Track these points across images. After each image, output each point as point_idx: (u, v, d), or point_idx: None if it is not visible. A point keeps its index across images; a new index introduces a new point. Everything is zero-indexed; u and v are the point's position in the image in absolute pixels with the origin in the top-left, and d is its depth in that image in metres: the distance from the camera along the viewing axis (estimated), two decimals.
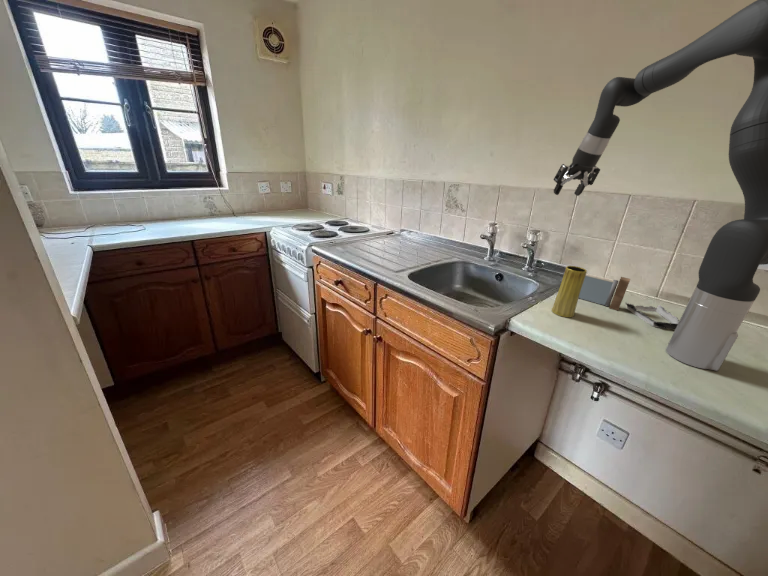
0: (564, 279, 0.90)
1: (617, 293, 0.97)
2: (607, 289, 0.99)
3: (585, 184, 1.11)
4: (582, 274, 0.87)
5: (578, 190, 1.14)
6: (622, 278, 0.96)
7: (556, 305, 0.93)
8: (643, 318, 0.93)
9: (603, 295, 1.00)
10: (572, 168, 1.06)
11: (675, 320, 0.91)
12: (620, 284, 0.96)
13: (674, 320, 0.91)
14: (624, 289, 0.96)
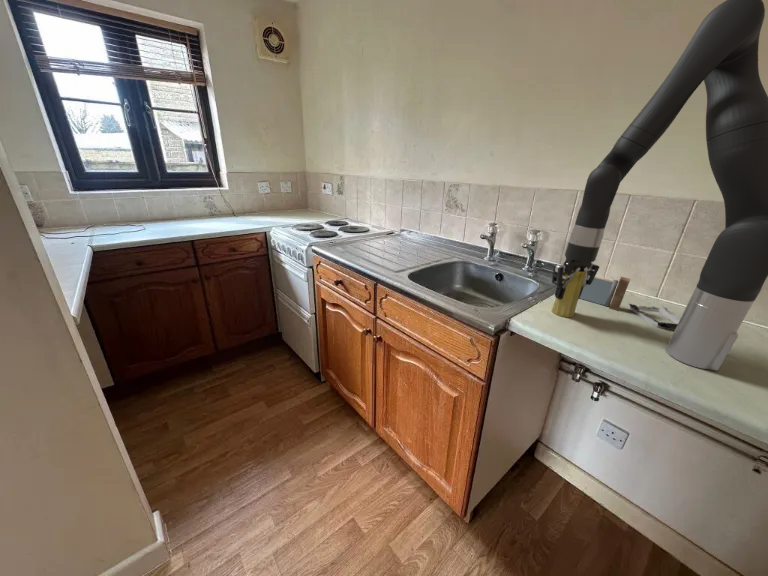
0: (564, 279, 0.90)
1: (617, 293, 0.97)
2: (607, 289, 0.99)
3: (583, 284, 0.90)
4: (582, 274, 0.87)
5: None
6: (622, 278, 0.96)
7: (556, 305, 0.93)
8: (647, 319, 0.93)
9: (603, 295, 1.00)
10: (568, 266, 0.87)
11: (679, 320, 0.91)
12: (620, 284, 0.96)
13: (678, 320, 0.91)
14: (624, 289, 0.96)
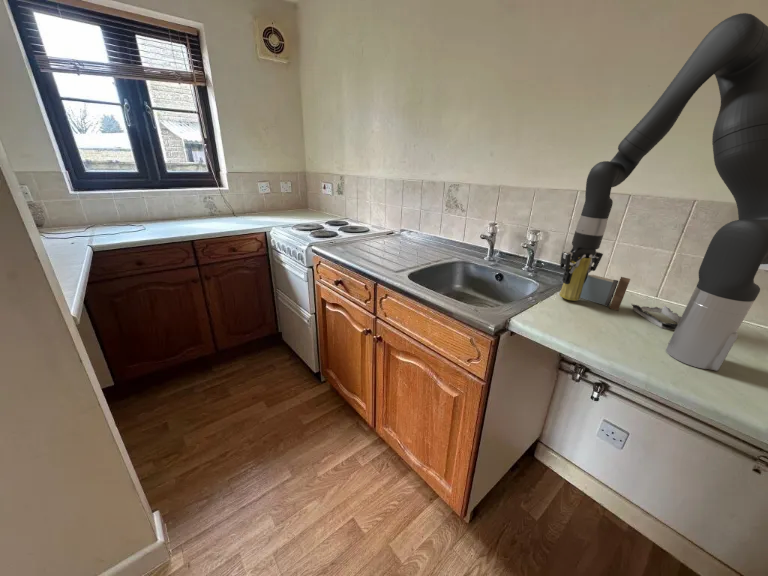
0: None
1: (617, 293, 0.97)
2: (607, 289, 0.99)
3: (588, 270, 1.00)
4: (587, 260, 0.96)
5: None
6: (622, 278, 0.96)
7: (563, 289, 1.02)
8: (650, 319, 0.92)
9: (603, 295, 1.01)
10: (575, 253, 0.96)
11: None
12: (620, 284, 0.96)
13: None
14: (624, 289, 0.96)
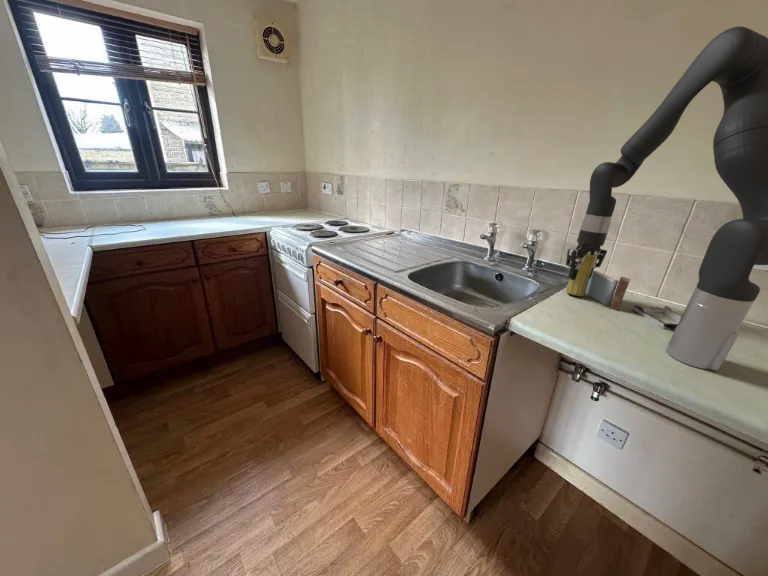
0: (576, 262, 1.04)
1: (617, 293, 0.97)
2: (607, 288, 1.00)
3: (593, 267, 1.04)
4: (592, 257, 1.01)
5: None
6: (622, 278, 0.96)
7: (569, 285, 1.07)
8: (652, 320, 0.92)
9: (604, 294, 1.01)
10: (580, 250, 1.00)
11: None
12: (620, 284, 0.96)
13: None
14: (624, 289, 0.96)
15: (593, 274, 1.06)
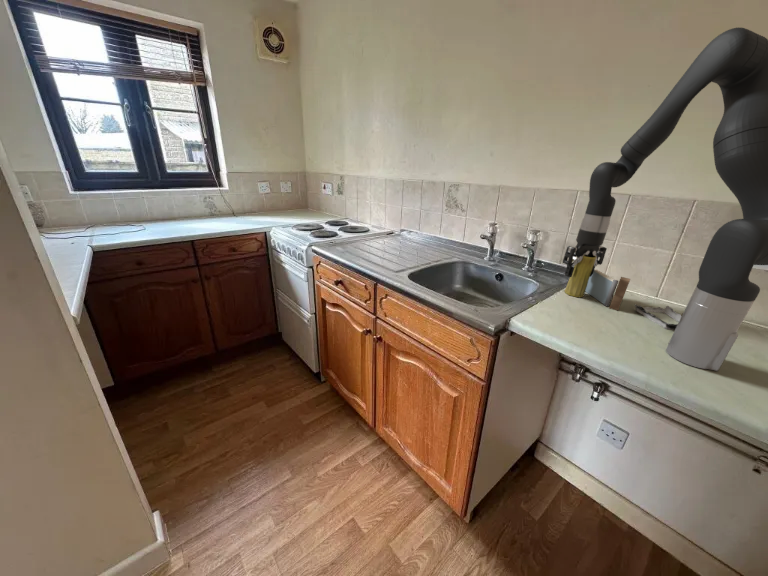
0: (576, 264, 1.04)
1: (617, 293, 0.97)
2: (608, 288, 1.00)
3: (595, 264, 1.05)
4: (592, 259, 1.01)
5: None
6: (622, 278, 0.96)
7: (568, 287, 1.08)
8: (654, 320, 0.92)
9: (605, 294, 1.01)
10: (580, 248, 1.01)
11: None
12: (620, 284, 0.96)
13: None
14: (624, 289, 0.96)
15: (595, 274, 1.06)
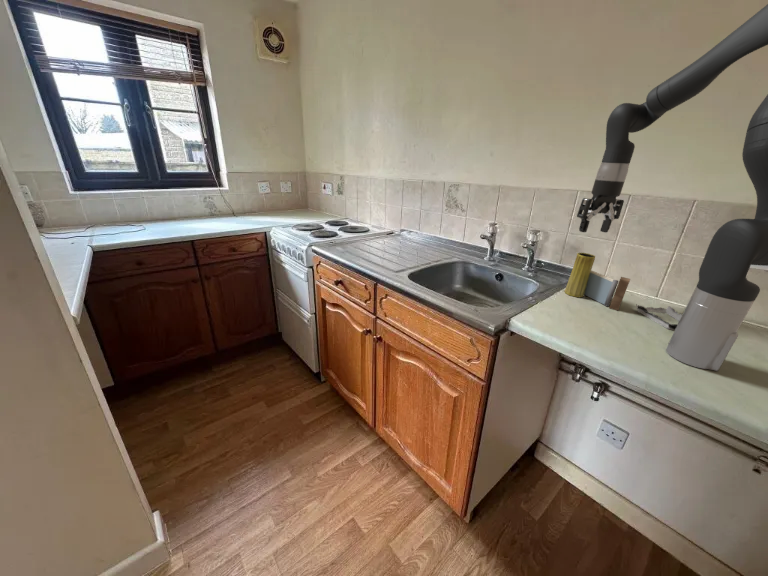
0: (575, 264, 1.05)
1: (617, 293, 0.97)
2: (607, 288, 1.00)
3: (612, 218, 0.99)
4: (591, 259, 1.01)
5: (605, 226, 1.01)
6: (622, 278, 0.96)
7: (568, 287, 1.08)
8: (656, 320, 0.92)
9: (604, 294, 1.01)
10: (596, 200, 0.95)
11: None
12: (620, 284, 0.96)
13: None
14: (624, 289, 0.96)
15: (590, 274, 1.06)
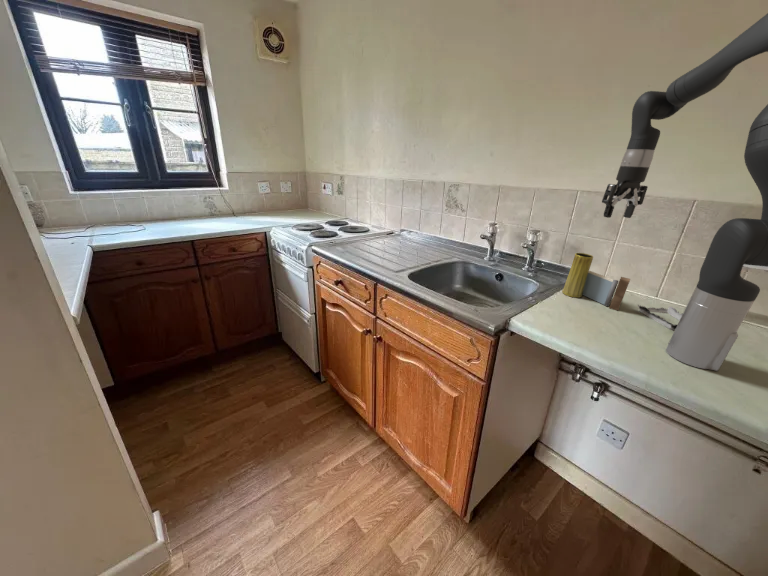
0: (573, 264, 1.04)
1: (617, 293, 0.97)
2: (607, 288, 1.00)
3: (635, 204, 1.02)
4: (589, 259, 1.01)
5: (628, 212, 1.04)
6: (622, 278, 0.96)
7: (566, 287, 1.07)
8: (659, 321, 0.92)
9: (603, 294, 1.01)
10: (621, 186, 0.99)
11: None
12: (620, 284, 0.96)
13: None
14: (624, 289, 0.96)
15: (588, 274, 1.06)
